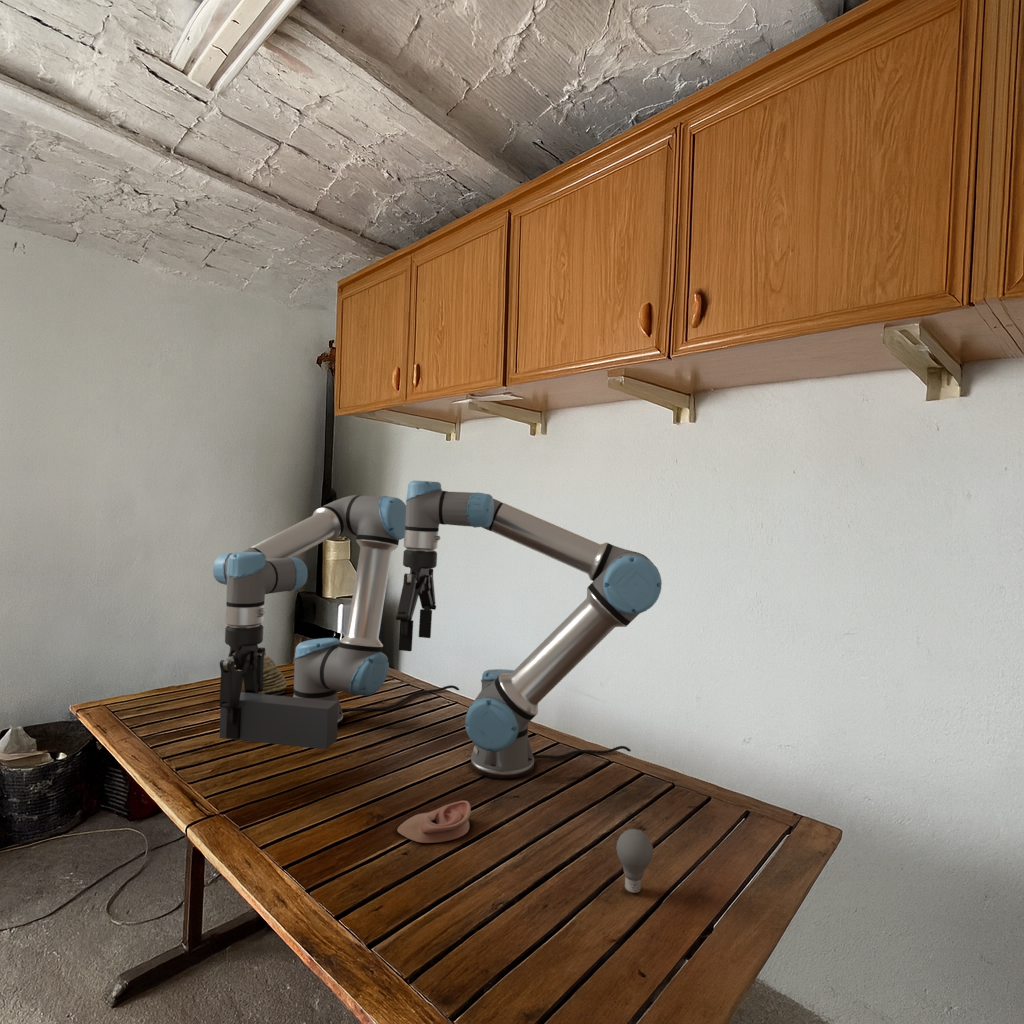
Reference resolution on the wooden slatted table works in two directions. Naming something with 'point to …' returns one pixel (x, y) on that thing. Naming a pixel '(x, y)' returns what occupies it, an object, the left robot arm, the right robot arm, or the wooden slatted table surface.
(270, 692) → the fossil
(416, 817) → the anatomical model
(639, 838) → the light bulb
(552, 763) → the wooden slatted table surface
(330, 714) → the bar
